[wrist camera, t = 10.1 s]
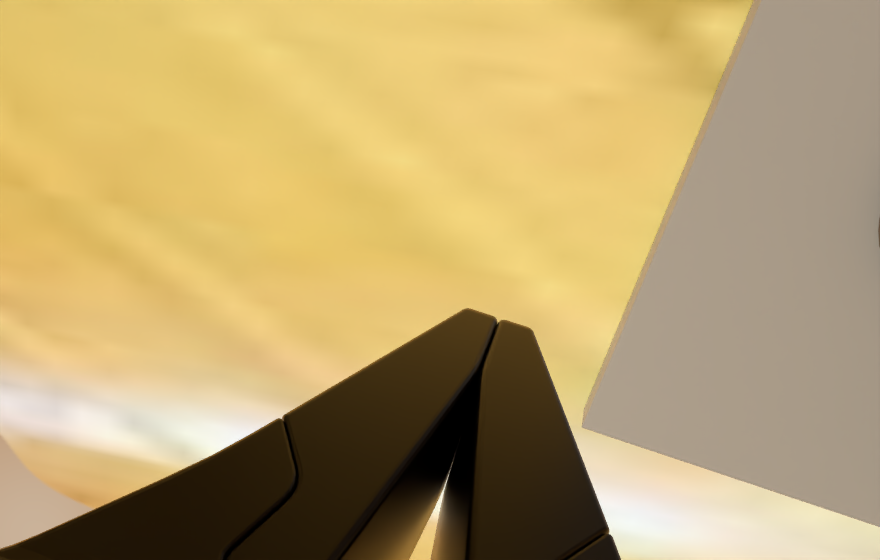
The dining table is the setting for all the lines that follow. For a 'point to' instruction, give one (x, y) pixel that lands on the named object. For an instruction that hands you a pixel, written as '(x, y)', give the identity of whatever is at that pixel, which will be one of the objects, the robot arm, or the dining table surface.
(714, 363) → the stand
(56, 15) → the dining table surface
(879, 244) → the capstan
